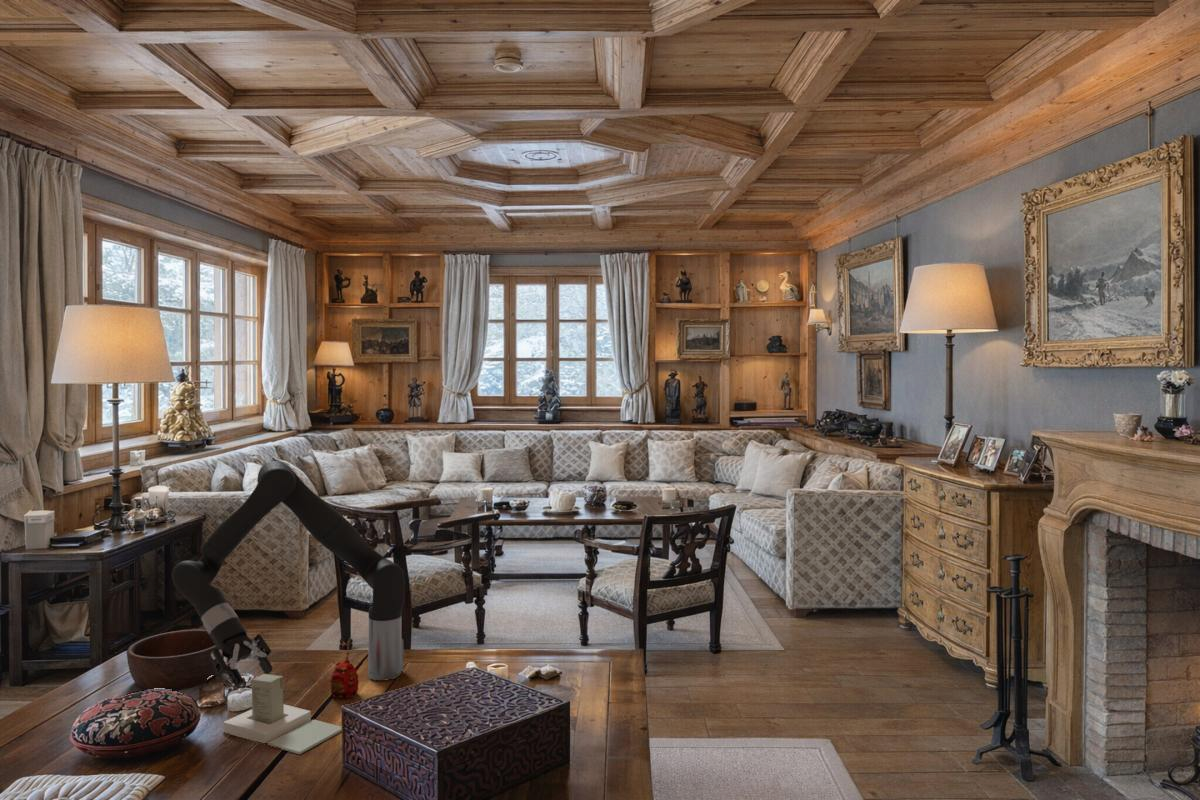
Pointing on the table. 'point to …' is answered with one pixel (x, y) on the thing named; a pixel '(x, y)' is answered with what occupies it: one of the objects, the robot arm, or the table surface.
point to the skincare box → (267, 698)
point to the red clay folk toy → (344, 679)
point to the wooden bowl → (172, 660)
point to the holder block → (263, 731)
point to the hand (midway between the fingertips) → (255, 678)
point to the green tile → (306, 736)
